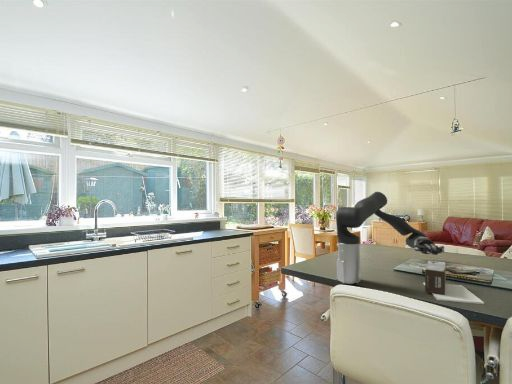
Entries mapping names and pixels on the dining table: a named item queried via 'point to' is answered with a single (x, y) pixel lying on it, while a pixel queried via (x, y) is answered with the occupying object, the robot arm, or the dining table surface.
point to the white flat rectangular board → (457, 295)
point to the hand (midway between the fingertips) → (435, 252)
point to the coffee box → (435, 277)
